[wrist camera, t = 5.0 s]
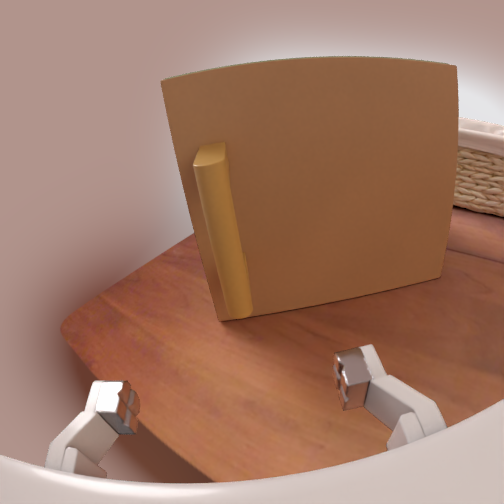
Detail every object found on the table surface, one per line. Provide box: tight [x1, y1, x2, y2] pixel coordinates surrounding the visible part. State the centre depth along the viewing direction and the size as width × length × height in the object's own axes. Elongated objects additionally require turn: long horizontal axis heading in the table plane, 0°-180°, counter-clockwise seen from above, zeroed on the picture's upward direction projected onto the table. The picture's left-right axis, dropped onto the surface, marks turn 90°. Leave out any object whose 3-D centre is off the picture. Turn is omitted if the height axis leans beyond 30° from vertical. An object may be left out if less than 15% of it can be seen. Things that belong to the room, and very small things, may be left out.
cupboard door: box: [161, 57, 459, 321], centre depth 24 cm, size 8×26×24 cm, turn 95°
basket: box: [453, 117, 504, 217], centre depth 46 cm, size 24×16×15 cm
